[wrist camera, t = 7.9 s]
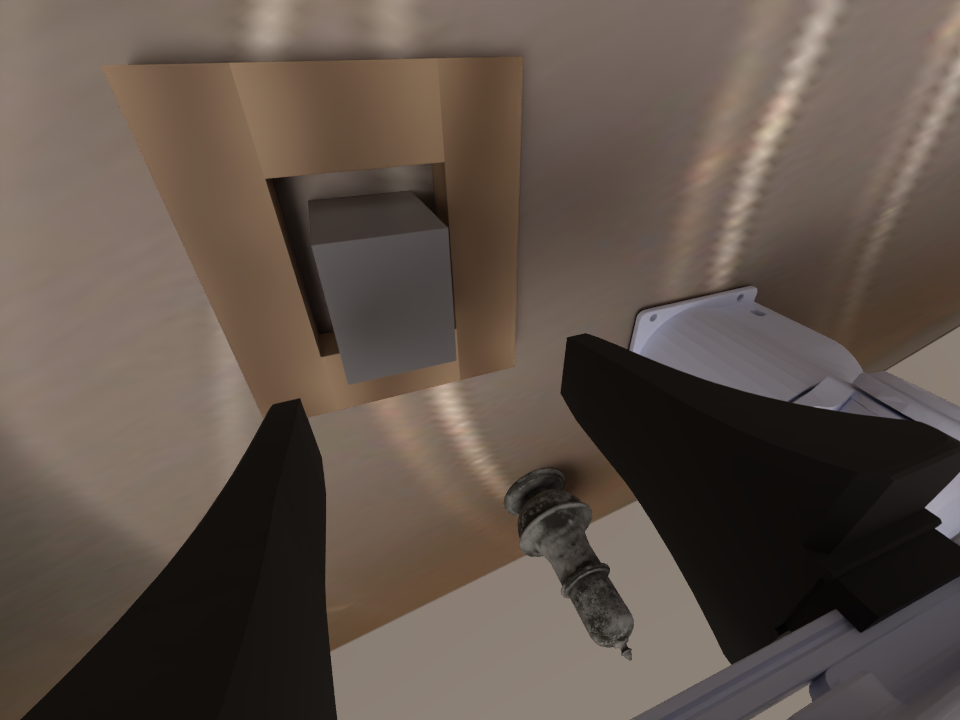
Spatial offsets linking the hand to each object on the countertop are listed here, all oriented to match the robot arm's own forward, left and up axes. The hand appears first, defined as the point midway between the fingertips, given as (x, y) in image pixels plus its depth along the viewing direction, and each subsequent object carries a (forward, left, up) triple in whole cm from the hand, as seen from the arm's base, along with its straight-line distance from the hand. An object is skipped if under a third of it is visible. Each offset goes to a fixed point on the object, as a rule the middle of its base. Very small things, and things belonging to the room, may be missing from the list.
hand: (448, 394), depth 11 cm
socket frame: (+1, -1, -9) cm, 9 cm away
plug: (+1, -1, -9) cm, 9 cm away
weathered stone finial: (-8, +20, -10) cm, 24 cm away
